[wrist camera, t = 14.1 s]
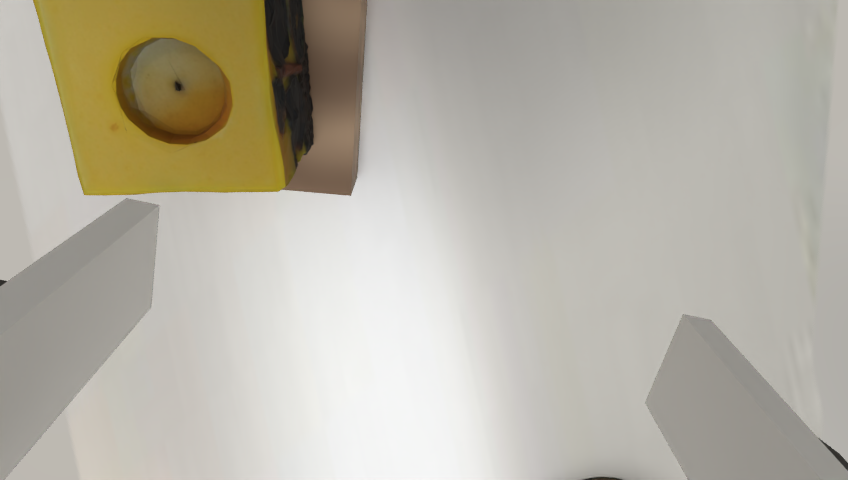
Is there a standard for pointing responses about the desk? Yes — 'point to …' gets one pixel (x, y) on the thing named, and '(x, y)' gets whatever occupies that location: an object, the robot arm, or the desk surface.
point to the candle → (181, 92)
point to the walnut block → (333, 95)
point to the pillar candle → (604, 479)
